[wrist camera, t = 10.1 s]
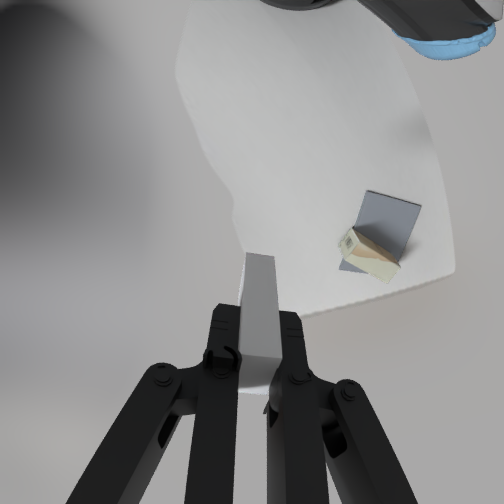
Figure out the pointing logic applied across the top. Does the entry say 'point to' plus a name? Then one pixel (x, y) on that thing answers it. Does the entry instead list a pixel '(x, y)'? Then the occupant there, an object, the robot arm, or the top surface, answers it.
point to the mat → (384, 224)
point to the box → (368, 256)
